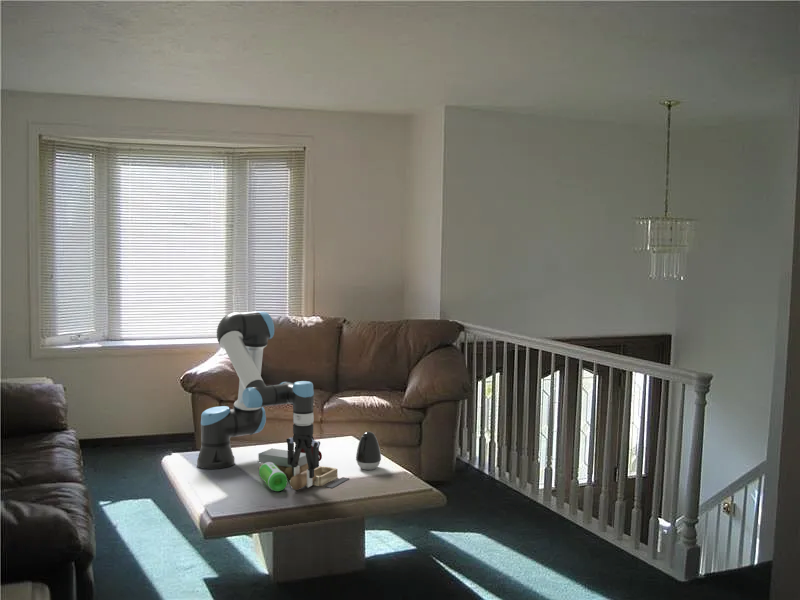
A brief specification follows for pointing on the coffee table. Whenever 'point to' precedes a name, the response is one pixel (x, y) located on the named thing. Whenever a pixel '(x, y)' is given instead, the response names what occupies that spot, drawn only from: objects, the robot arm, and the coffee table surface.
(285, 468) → the roller bed
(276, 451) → the slab
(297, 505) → the coffee table surface
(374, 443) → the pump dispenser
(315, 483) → the open rectangular frame
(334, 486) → the stop strip
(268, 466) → the speaker
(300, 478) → the roller
